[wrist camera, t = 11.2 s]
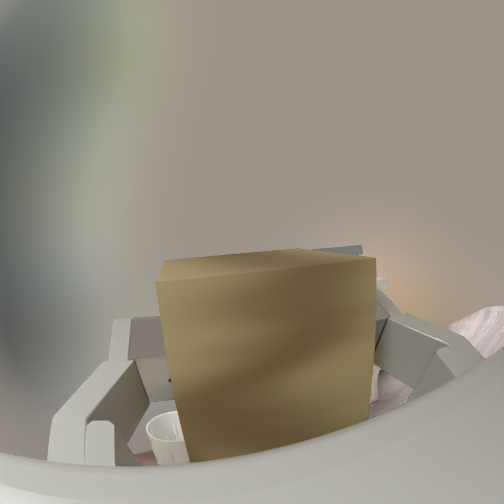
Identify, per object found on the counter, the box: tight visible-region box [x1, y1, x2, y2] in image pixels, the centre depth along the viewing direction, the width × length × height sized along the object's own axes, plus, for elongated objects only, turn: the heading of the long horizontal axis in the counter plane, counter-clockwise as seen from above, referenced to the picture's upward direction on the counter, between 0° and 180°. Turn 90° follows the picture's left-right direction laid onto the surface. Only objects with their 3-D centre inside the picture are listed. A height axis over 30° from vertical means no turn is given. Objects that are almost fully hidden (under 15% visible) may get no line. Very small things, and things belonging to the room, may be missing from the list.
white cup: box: [146, 411, 190, 465], centre depth 32 cm, size 8×8×10 cm
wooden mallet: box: [156, 248, 376, 463], centre depth 13 cm, size 5×13×5 cm, turn 14°
